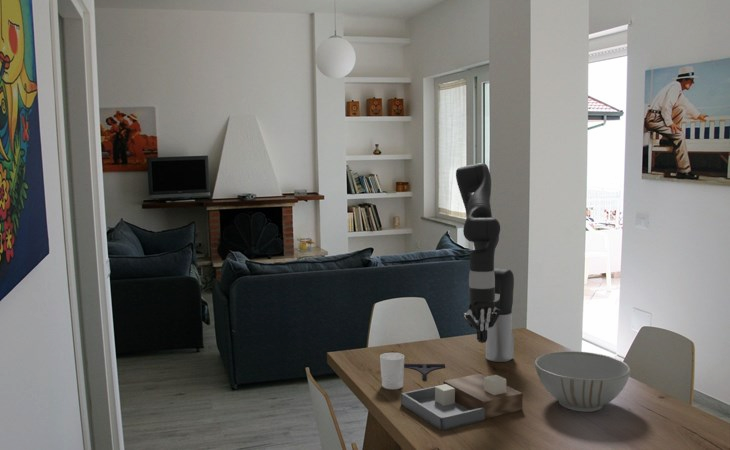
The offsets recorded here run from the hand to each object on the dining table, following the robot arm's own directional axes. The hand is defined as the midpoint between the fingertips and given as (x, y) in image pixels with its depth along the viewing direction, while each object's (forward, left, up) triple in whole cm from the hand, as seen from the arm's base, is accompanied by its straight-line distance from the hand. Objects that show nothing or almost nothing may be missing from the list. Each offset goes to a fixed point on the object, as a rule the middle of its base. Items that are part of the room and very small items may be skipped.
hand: (482, 342), depth 194 cm
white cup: (+17, -25, -19) cm, 36 cm away
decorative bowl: (-24, +16, -19) cm, 35 cm away
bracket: (+1, -31, -19) cm, 37 cm away
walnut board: (+1, +1, -19) cm, 19 cm away
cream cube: (+9, -4, -16) cm, 18 cm away
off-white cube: (0, +6, -14) cm, 15 cm away
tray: (+15, +1, -19) cm, 24 cm away
